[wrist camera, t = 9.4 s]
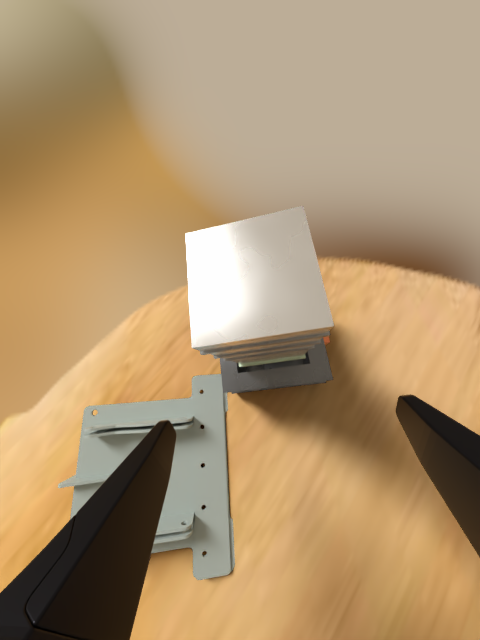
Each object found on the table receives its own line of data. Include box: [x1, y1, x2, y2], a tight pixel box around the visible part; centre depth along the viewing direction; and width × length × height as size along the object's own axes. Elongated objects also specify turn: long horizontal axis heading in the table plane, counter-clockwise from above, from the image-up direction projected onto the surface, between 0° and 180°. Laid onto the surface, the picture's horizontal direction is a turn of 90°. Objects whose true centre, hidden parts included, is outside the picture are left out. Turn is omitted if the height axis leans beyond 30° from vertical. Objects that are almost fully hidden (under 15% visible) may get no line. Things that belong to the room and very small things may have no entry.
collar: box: [220, 336, 333, 394], centre depth 18 cm, size 8×8×6 cm
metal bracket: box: [58, 374, 235, 580], centre depth 19 cm, size 14×6×15 cm
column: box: [186, 206, 334, 367], centre depth 11 cm, size 4×4×9 cm
